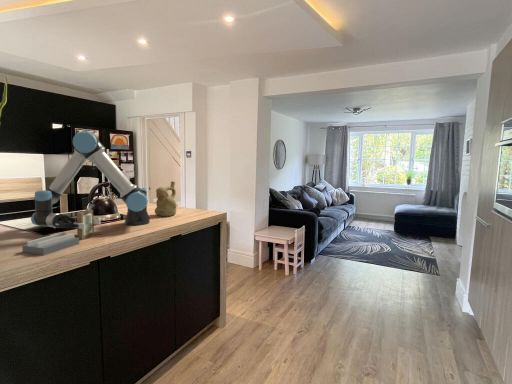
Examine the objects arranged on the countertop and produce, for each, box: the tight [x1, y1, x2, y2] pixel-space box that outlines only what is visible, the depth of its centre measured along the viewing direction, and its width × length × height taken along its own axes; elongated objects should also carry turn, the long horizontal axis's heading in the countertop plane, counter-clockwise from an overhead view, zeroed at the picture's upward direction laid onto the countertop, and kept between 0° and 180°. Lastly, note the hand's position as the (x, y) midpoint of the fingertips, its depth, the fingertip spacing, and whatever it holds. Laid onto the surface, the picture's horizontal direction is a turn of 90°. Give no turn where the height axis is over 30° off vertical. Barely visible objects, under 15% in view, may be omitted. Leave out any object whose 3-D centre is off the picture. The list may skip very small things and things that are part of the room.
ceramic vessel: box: [154, 180, 178, 217], centre depth 217 cm, size 17×20×25 cm
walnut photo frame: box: [76, 209, 95, 241], centre depth 152 cm, size 9×3×14 cm, turn 173°
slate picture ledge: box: [22, 231, 80, 256], centre depth 134 cm, size 18×12×5 cm, turn 165°
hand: (92, 224), depth 151 cm, fingers closed on walnut photo frame, 9 cm apart
